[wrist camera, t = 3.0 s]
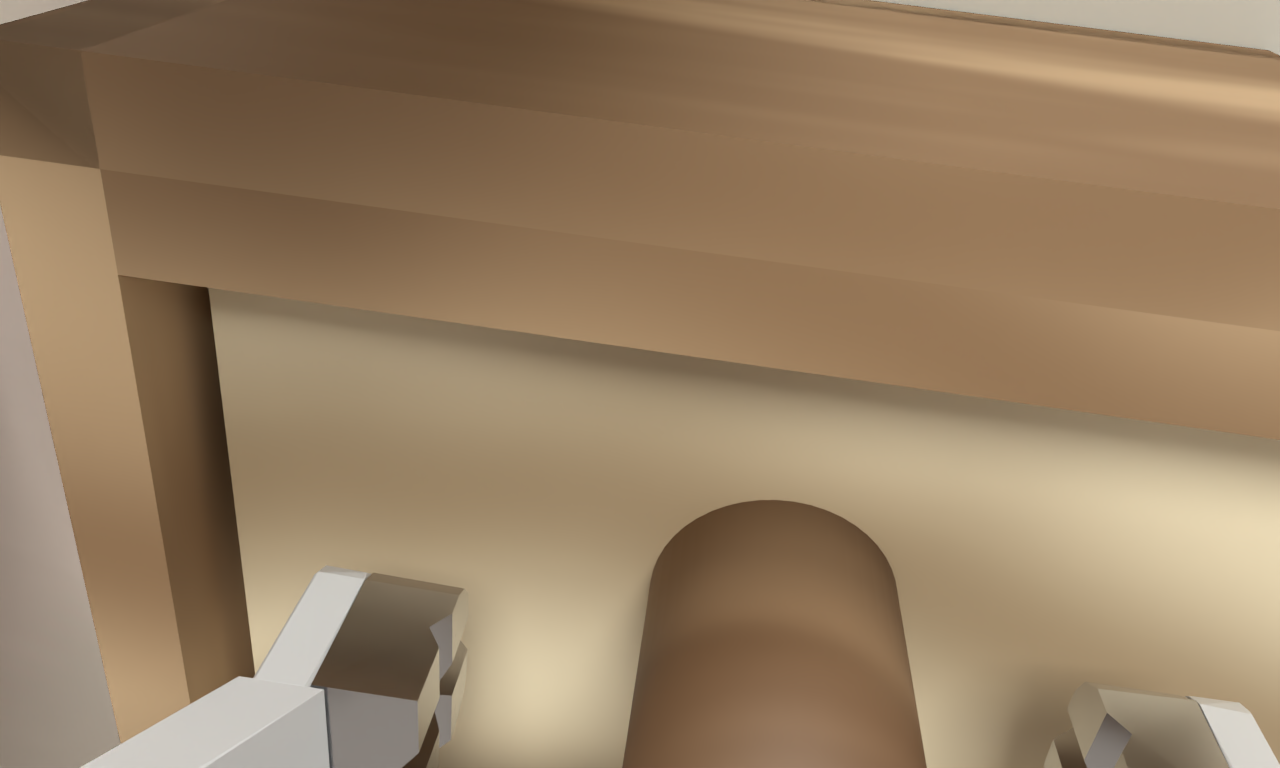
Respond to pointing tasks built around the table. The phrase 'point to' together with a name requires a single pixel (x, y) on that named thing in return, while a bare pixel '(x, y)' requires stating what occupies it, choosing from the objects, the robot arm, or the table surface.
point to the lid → (744, 544)
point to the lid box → (608, 225)
